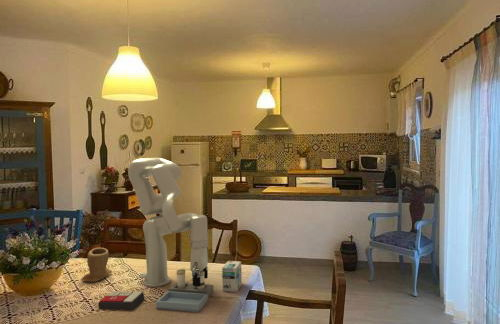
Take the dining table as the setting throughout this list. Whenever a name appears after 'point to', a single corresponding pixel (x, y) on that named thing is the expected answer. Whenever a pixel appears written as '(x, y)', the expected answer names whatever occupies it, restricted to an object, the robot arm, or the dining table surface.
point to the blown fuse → (201, 281)
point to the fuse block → (192, 289)
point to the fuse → (181, 278)
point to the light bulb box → (232, 276)
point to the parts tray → (182, 301)
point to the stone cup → (97, 264)
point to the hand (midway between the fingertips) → (200, 282)
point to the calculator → (121, 300)
